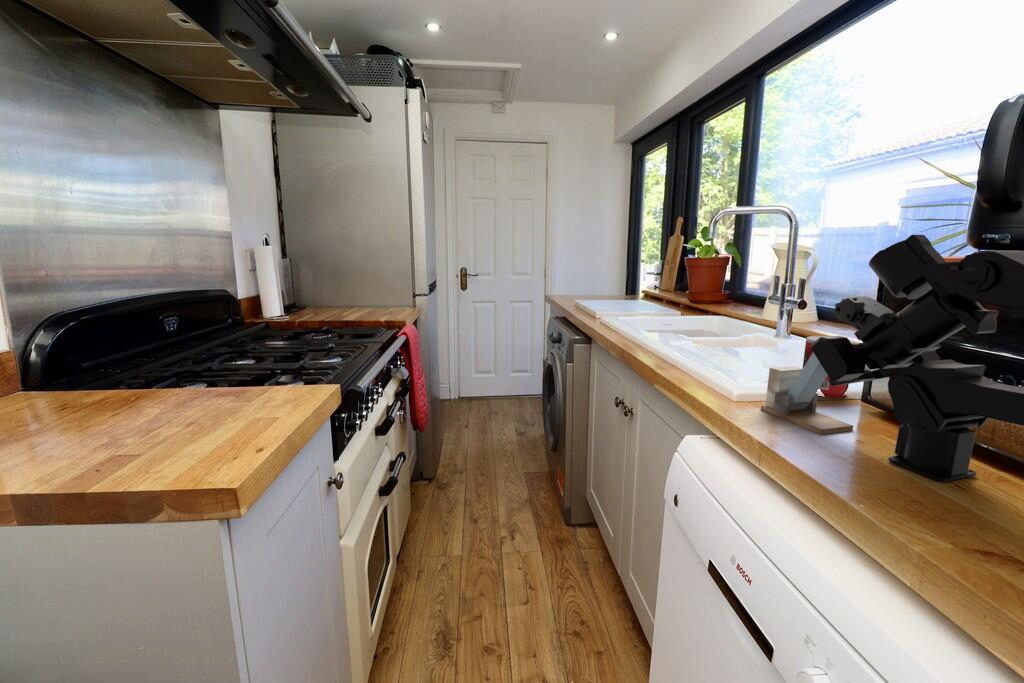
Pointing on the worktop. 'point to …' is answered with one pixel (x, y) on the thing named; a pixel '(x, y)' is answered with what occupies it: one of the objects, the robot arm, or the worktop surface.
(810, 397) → the leg
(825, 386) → the canned food
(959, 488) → the worktop surface
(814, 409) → the wooden base block holder
